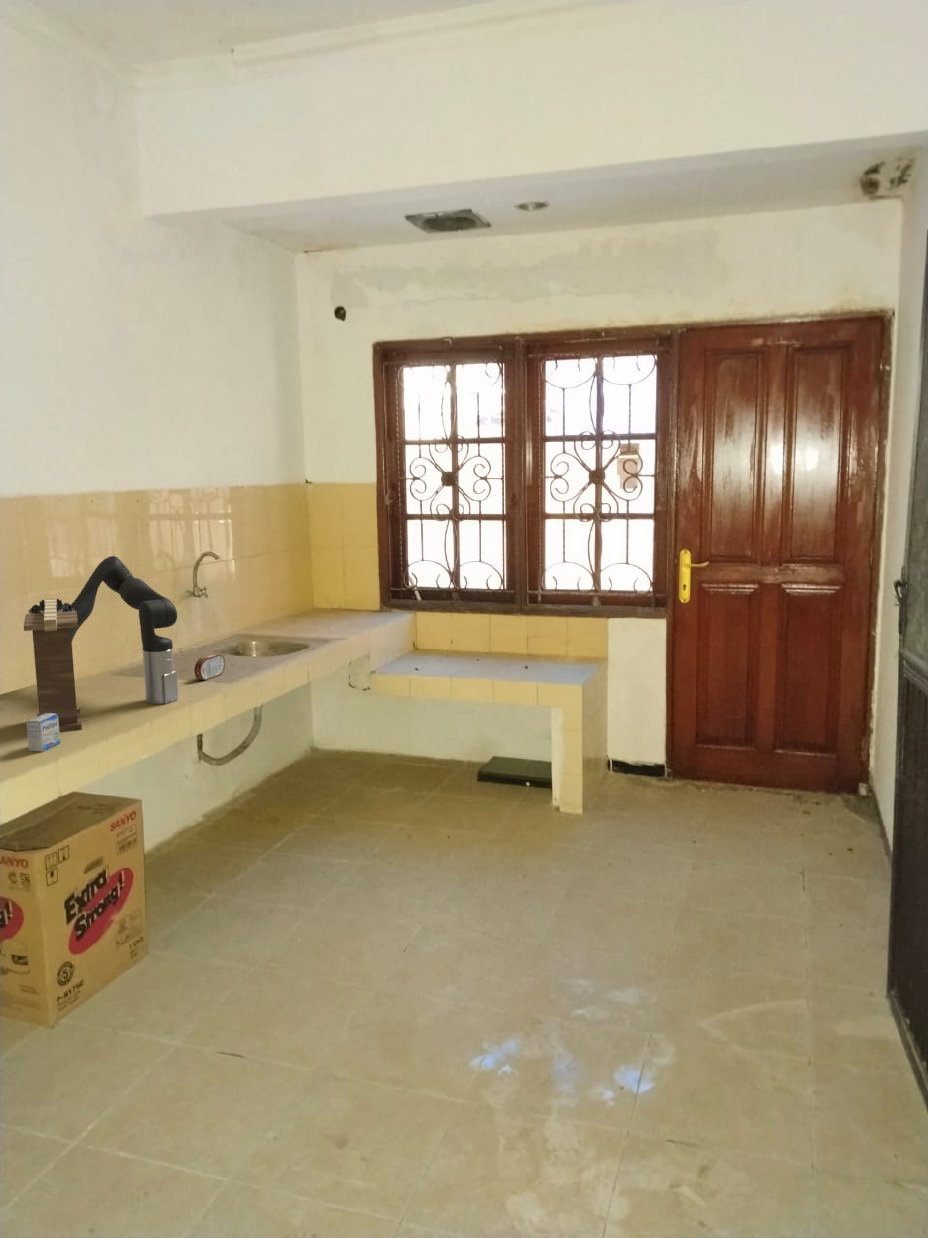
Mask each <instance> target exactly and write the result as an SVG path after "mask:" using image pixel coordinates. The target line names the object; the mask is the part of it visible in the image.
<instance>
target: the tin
mask: <svg viewBox="0 0 928 1238" xmlns="http://www.w3.org/2000/svg"><path fill="white" fill-rule="evenodd" d="M225 666H226V658H225V657H224V655H223V654H221V653H217V652H214V653H209V654H207V655H203V656H200V657H199V658H198V659H197V661H196V663H195V665H194V676H195V678H196V679H197V680H199V681H200V680H201V681H202V680H203V681H207V680H210V679H214V678H216V677H219V676H220V675H222V674H223V672H224V671H225V668H226V667H225Z"/></svg>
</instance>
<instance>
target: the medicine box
mask: <svg viewBox="0 0 928 1238" xmlns="http://www.w3.org/2000/svg"><path fill="white" fill-rule="evenodd" d="M25 723H26V725H25V726H26V733H27V734H26V735H27V744H28V751H29V752H41V753H43V752H42V751H44V752H46V751H48V750H49V748H50V749H51V748H54V747H55V746H57V745H59V744H60V743H61V735H60V732H59V722H58V714H54V713H44V714H42V715H40V716H37V715H36V717H33V718H31V719H28V720H26V721H25ZM53 746H54V747H53ZM45 750H46V751H45Z"/></svg>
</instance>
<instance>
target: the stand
mask: <svg viewBox="0 0 928 1238" xmlns="http://www.w3.org/2000/svg"><path fill="white" fill-rule="evenodd" d="M23 621H24V622H23V631H24V632H30V631H32V641H33V642H32V643H33V654H34V656H33V657H34V665H35V666H34V667H35V679H36V689H37V691H36V693H37V702H38V712H37V715H36V717H37V716H40V715H42V714H44V713H54V714H58V722H59V733H62V732H68V731H69V732H70V731H79V730H82V729H83V728H82V726H83V725H82V716H81V715H82V714H81V708H77V696H76V683H75V681H76V680H75V670H74V668H75V667H74V655H73V653H74V652H73V644H72V643H73V640H71V628H76V627H78V619H77V611H72V612H57V631H45V628H44V613H39V614H29V613H26V614H25V617H24V620H23Z"/></svg>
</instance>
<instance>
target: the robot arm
mask: <svg viewBox="0 0 928 1238" xmlns="http://www.w3.org/2000/svg"><path fill="white" fill-rule="evenodd" d="M102 583H104V585H106V586H107V587H108V588H109V589H110V590H111V591H113V592H115V593H117V594H119V596H120V598H121V599H122V601H123V602H125V603H126V604H127V605H128V607H130V608H131V609H134V610H137V611H138V619H139V628H140V638H141V645H142V657H143V658H142V659H143V660H142V661H143V675H144V676H143V677H144V678H143V679H144V691H145V703H148V704H153V705H154V704H155V705H158V704H159V705H160V704H169V703H172V702H174V701H178V700H179V693H178V689H179V688H178V675H177V671H176V670H175V666H174V663H175V662H174V651H173V650H174V648H173V647H174V645H173V641H172V639H171V638H168V637H164V636H160V635H157V634H156V633H155V630H156V629H163V628H169V627H172V626H174V625H175V623H176V622H177V619H178V612H177V609H176V607H175V605H174V603H173V602H172V601H171V600H170V599H169V598H167V597H165V596H164V595H161V594H160V593H158V592H157V591H155V590H154V589H153V588H151V586H149V584H147V583H146V582H145V581H144V580H142V579H141V578H137V577H135V576H134V575H133V574H132V572H131V571H130V570H129V568H128V567H127V566H126V564H124V563H123V561H122V560H121V559H120V558H119V557H117V556H115V555H112V556H108V557H106V558H105V559H103V560H102V561H101V562H99V564H98V565H97V566H96V568H95V569H94V571H93V572H92V574H91V575H90V577H89V578H88V579H87V581H86V583H85V584H84V586H83V588H82V589H81V590H80V592H79V594H78V596H77V597H76V598H75V599H74V600H73V602H72V603H71V604H70V603H69V602H64V603H63V601H62V600H61V599H60V598H56V604H57V612H72V611H77V619H78V627H76V628H71V640H72V641H73V640H74V637H75V636H76V634H77V632H78V630H79V629H80V628H81V626H82V625H83V624H84V622H86V621H87V620H88V618H89V617H90V616H91V615H92V612H93V611H94V608H95V603H96V598H97V595H98V594H97V593H98V590H99V588H100V585H101V584H102ZM44 612H45V599H41V600H40V601H39V605H38V604H34V605H32V607H31V608H30V609H28V614H39V613H44Z"/></svg>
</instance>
